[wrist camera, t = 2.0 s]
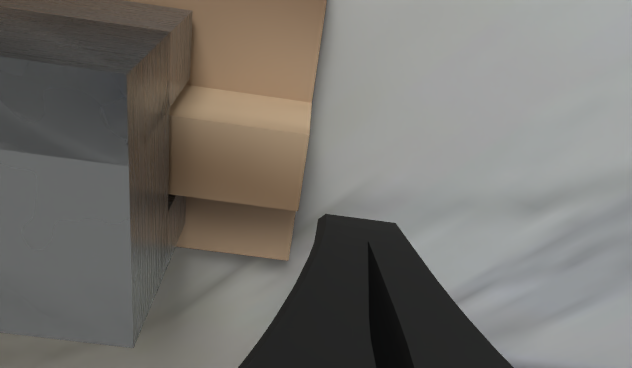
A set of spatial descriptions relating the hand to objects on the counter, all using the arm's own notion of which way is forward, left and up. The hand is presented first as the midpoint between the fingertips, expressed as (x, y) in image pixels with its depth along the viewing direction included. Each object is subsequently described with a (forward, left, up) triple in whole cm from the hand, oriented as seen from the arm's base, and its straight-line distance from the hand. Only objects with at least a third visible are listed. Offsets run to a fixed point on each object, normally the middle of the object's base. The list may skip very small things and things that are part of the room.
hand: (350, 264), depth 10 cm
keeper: (0, +6, -5) cm, 8 cm away
